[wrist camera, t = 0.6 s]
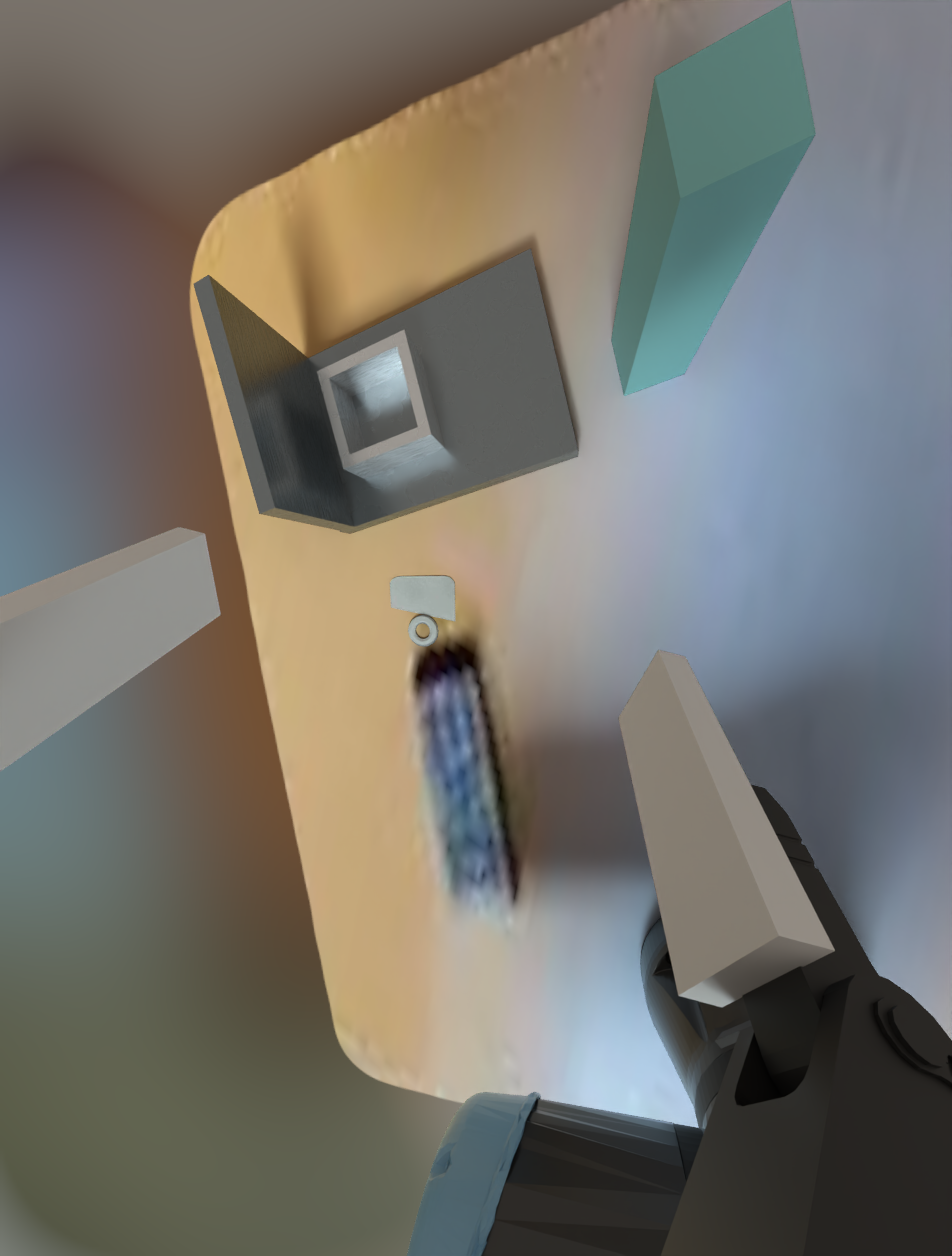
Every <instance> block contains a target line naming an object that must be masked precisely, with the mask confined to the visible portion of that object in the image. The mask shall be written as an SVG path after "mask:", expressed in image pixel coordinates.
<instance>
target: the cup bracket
mask: <svg viewBox="0 0 952 1256" xmlns="http://www.w3.org/2000/svg"><path fill="white" fill-rule="evenodd" d="M194 288H195V291H196V295H197V298H198V302H199V305H200V309H201V312H202V315H203V319H204V322H205V326H206V329H207V333H208V336H209V340H210V343H211V347H212V350H213V354H214V357H215V361H216V364H217V368H218V371H219V375H220V378H221V382H222V385H223V388H224V392H225V395H226V399H227V402H228V406H229V409H230V413H231V416H232V420H233V423H234V427H235V430H236V434H237V437H238V441H239V444H240V448H241V451H242V455H243V458H244V461H245V465H246V468H247V472H248V475H249V479H250V482H251V486H252V489H253V493H254V496H255V500H256V503H257V507H258V510H259V514H263V515H268V516H273V517H278V518H282V519H287V520H292V521H297V522H301V523H306V524H311V525H316V526H321V527H325V528H330V529H335V530H340V532H344V533H349V534H351V533H354V532H357V531H360V530H362V529H365V528H368V527H371V526H374V525H377V524H380V523H383V522H386V521H389V520H392V519H395V518H398V517H401V516H404V515H407V514H410V513H413V512H416V511H418V510H421V509H424V508H427V507H430V506H433V505H436V504H439V503H442V502H445V501H448V500H451V499H454V498H457V497H460V496H463V495H466V494H469V493H472V492H475V491H477V490H480V489H483V488H486V487H489V486H492V485H495V484H498V483H501V482H504V481H507V480H510V479H513V478H516V477H519V476H522V475H525V474H528V473H531V472H533V471H536V470H539V469H542V468H545V467H548V466H551V465H554V464H557V463H560V462H563V461H566V460H569V459H572V458H575V457H578V447H577V443H576V439H575V435H574V430H573V426H572V422H571V418H570V413H569V409H568V405H567V401H566V396H565V392H564V388H563V384H562V379H561V375H560V371H559V367H558V362H557V358H556V354H555V350H554V345H553V341H552V337H551V333H550V328H549V324H548V320H547V316H546V311H545V307H544V303H543V299H542V294H541V290H540V286H539V281H538V277H537V273H536V269H535V264H534V260H533V256H532V252H531V249H529V250H527V251H525V252H523V253H521V254H518V255H516V256H514V257H512V258H510V259H508V260H506V261H504V262H502V263H500V264H498V265H496V266H494V267H492V268H490V269H488V270H486V271H484V272H482V273H480V274H478V275H476V276H474V277H472V278H470V279H468V280H466V281H464V282H462V283H460V284H458V285H456V286H454V287H452V288H450V289H448V290H446V291H444V292H442V293H440V294H437V295H435V296H433V297H431V298H429V299H427V300H425V301H423V302H421V303H419V304H417V305H415V306H413V307H411V308H409V309H407V310H405V311H403V312H401V313H399V314H397V315H395V316H393V317H391V318H389V319H387V320H385V321H383V322H381V323H379V324H377V325H375V326H373V327H371V328H369V329H367V330H365V331H363V332H361V333H359V334H356V335H354V336H352V337H350V338H348V339H346V340H344V341H342V342H340V343H338V344H336V345H334V346H332V347H330V348H328V349H326V350H324V351H322V352H320V353H318V354H316V355H314V356H312V357H310V358H307V357H306V356H305V355H304V354H303V353H301V352H300V351H299V350H298V349H297V348H295V347H294V346H293V345H292V344H291V343H289V342H288V341H287V340H286V339H285V338H284V337H282V336H281V335H280V334H279V333H278V332H276V331H275V330H274V329H273V328H272V327H270V326H269V325H268V324H267V323H266V322H264V321H263V320H262V319H261V318H260V317H258V316H257V315H256V314H255V313H254V312H252V311H251V310H250V309H249V308H248V307H246V306H245V305H244V304H243V303H242V302H241V301H239V300H238V299H237V298H236V297H235V296H233V295H232V294H231V293H230V292H229V291H227V290H226V289H225V288H224V287H223V286H221V285H220V284H219V283H218V282H217V281H215V280H214V279H213V278H212V277H211V276H209V275H207V276H206V277H204V278H203V279H201V280H199V281H198V282H196V283H194Z"/></svg>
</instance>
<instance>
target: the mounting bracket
mask: <svg viewBox="0 0 952 1256" xmlns="http://www.w3.org/2000/svg"><path fill="white" fill-rule="evenodd" d="M390 594H391V608H396V609H400V610H405V611H410V612H414V613H419V614H424V615H420V616H417V617H415V618H414V619H412V621H411V623H410V624H409V630H408V632H409V636H410V638H411V640H412V641H413V642H414V643H416V644H417V645H419V646H430V645H431V644H433V643H434V642H435V640H436V639H437V637H438V626H437V624H436V622H435V621H434V620H433V619H432V618H431V617H429V616H433V617H438V618H442V619H447V620H451V621H455V582H454V581H453V580H452V579H451V578H450V577H447V576H399V577H396V578H394V579H392V581H391V582H390ZM426 615H428V616H426ZM421 623H424V624H426V625H428V627H429V628H430V635H429V636H428V637H427V638H426V639H422V638H420V637H418V636H417V634H416V627H417V625H419V624H421Z"/></svg>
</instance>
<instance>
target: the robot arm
mask: <svg viewBox="0 0 952 1256" xmlns="http://www.w3.org/2000/svg"><path fill="white" fill-rule="evenodd" d="M219 615H220V609H219V604H218V599H217V594H216V589H215V584H214V579H213V573H212V568H211V564H210V558H209V553H208V548H207V543H206V538H205V534H204V533H200V532H196V531H192V530H189V529H185V528H180V527H178V528H175V529H172V530H170V531H167V532H165V533H162V534H160V535H157V536H155V537H152V538H149V539H147V540H144V541H142V542H139V543H137V544H134V545H132V546H129V547H126V548H124V549H121V550H119V551H116V552H114V553H111V554H109V555H106V556H104V557H101V558H98V559H96V560H93V561H91V562H88V563H86V564H83V565H81V566H78V567H75V568H73V569H70V570H68V571H65V572H63V573H60V574H58V575H55V576H53V577H50V578H47V579H45V580H42V581H40V582H37V583H35V584H32V585H30V586H27V587H24V588H22V589H20V590H17V591H14V592H12V593H9V594H7V595H4V596H1V597H0V771H2V770H3V769H4V768H6V767H7V766H9V765H10V764H11V763H13V762H14V761H16V760H17V759H19V758H20V757H21V756H23V755H24V754H25V753H27V752H28V751H30V750H31V749H33V748H34V747H35V746H37V745H38V744H40V743H41V742H42V741H44V740H45V739H46V738H48V737H49V736H51V735H52V734H54V733H55V732H56V731H58V730H59V729H61V728H62V727H63V726H65V725H66V724H68V723H69V722H70V721H72V720H73V719H75V718H76V717H77V716H79V715H80V714H82V713H83V712H85V711H86V710H87V709H89V708H90V707H92V706H93V705H94V704H96V703H97V702H99V701H100V700H101V699H103V698H104V697H106V696H107V695H108V694H110V693H111V692H112V691H114V690H115V689H117V688H118V687H120V686H121V685H122V684H124V683H125V682H127V681H128V680H129V679H131V678H132V677H134V676H135V675H136V674H138V673H139V672H141V671H142V670H144V669H145V668H146V667H148V666H149V665H151V664H152V663H153V662H155V661H156V660H157V659H159V658H160V657H162V656H163V655H165V654H166V653H167V652H169V651H170V650H172V649H173V648H174V647H176V646H177V645H179V644H180V643H181V642H183V641H184V640H186V639H187V638H189V637H190V636H191V635H193V634H194V633H196V632H197V631H198V630H200V629H201V628H203V627H204V626H205V625H207V624H208V623H210V622H211V621H212V620H214V619H215V618H217V617H218V616H219ZM618 719H619V723H620V728H621V732H622V737H623V742H624V746H625V751H626V756H627V760H628V765H629V769H630V774H631V779H632V783H633V788H634V793H635V797H636V802H637V806H638V811H639V816H640V820H641V825H642V830H643V834H644V839H645V843H646V848H647V853H648V857H649V862H650V867H651V871H652V876H653V880H654V885H655V890H656V894H657V899H658V904H659V908H660V913H661V918H660V919H659V920H658V921H657V923H656V924H655V925H654V926H653V928H652V929H651V930H650V932H649V934H648V936H647V938H646V940H645V943H644V945H643V949H642V954H641V975H642V981H643V986H644V992H645V998H646V1002H647V1006H648V1010H649V1013H650V1016H651V1019H652V1021H653V1024H654V1026H655V1028H656V1030H657V1032H658V1034H659V1036H660V1038H661V1040H662V1042H663V1044H664V1046H665V1048H666V1050H667V1053H668V1055H669V1057H670V1059H671V1061H672V1063H673V1065H674V1067H675V1069H676V1071H677V1073H678V1075H679V1077H680V1079H681V1081H682V1083H683V1085H684V1087H685V1090H686V1092H687V1094H688V1096H689V1098H690V1100H691V1102H692V1104H693V1106H694V1110H695V1114H696V1118H697V1122H698V1126H699V1128H696V1127H690V1126H684V1125H679V1124H674V1123H672V1122H666V1121H660V1120H655V1119H649V1118H644V1117H638V1116H632V1115H627V1114H621V1113H615V1112H610V1111H604V1110H599V1109H593V1108H587V1107H582V1106H576V1105H570V1104H565V1103H559V1102H554V1101H548V1100H542V1099H540V1094H538V1093H536V1092H533V1093H531V1094H529V1095H528V1096H520V1095H510V1094H500V1093H490V1092H483V1093H478V1094H475V1095H473V1096H472V1097H470V1098H469V1099H468V1100H467V1101H465V1103H464V1104H463V1105H462V1106H461V1107H460V1108H459V1109H458V1111H457V1112H456V1114H455V1115H454V1117H453V1119H452V1120H451V1122H450V1124H449V1126H448V1128H447V1130H446V1132H445V1134H444V1137H443V1139H442V1141H441V1144H440V1146H439V1149H438V1151H437V1154H436V1157H435V1160H434V1163H433V1165H432V1169H431V1172H430V1175H429V1178H428V1181H427V1184H426V1187H425V1190H424V1193H423V1197H422V1201H421V1204H420V1207H419V1211H418V1215H417V1218H416V1222H415V1226H414V1229H413V1233H412V1237H411V1241H410V1245H409V1249H408V1253H407V1256H952V1040H951V1039H950V1038H949V1036H948V1035H947V1034H946V1033H945V1031H944V1030H943V1029H942V1027H941V1026H940V1025H939V1024H938V1022H937V1021H936V1020H935V1018H934V1017H933V1016H932V1015H931V1014H930V1013H929V1012H928V1011H926V1010H925V1009H924V1008H923V1007H922V1006H921V1005H920V1004H919V1003H918V1002H917V1001H916V1000H915V999H914V998H913V997H912V996H911V995H910V994H908V993H907V992H906V991H904V990H903V989H901V988H900V987H898V986H897V985H896V984H894V983H893V982H891V981H890V980H888V979H886V978H883V977H881V976H879V975H878V973H877V972H876V970H875V969H874V967H873V966H872V964H871V963H870V961H869V959H868V957H867V956H866V954H865V952H864V950H863V948H862V947H861V945H860V943H859V941H858V940H857V938H856V936H855V934H854V932H853V931H852V929H851V927H850V925H849V923H848V922H847V920H846V918H845V916H844V915H843V913H842V911H841V909H840V907H839V906H838V904H837V902H836V900H835V898H834V897H833V895H832V893H831V891H830V890H829V888H828V886H827V884H826V882H825V881H824V879H823V877H822V875H821V873H820V872H819V870H818V869H816V868H815V867H814V861H813V859H812V857H811V856H810V854H809V852H808V850H807V848H806V847H805V845H802V844H801V841H802V839H801V838H800V836H799V834H798V832H797V831H796V829H795V827H794V825H793V823H792V822H791V820H790V818H789V816H788V814H787V813H786V812H785V811H784V810H783V808H782V807H781V806H780V805H779V804H778V803H777V802H776V801H775V799H774V798H773V797H772V796H771V795H770V794H769V793H768V791H767V790H766V789H765V788H762V787H758V786H754V785H750V783H749V781H748V779H747V777H746V775H745V773H744V771H743V769H742V767H741V765H740V763H739V761H738V759H737V757H736V755H735V753H734V751H733V749H732V747H731V745H730V743H729V741H728V739H727V737H726V735H725V734H724V732H723V730H722V728H721V726H720V724H719V722H718V720H717V718H716V716H715V714H714V712H713V710H712V708H711V706H710V704H709V702H708V700H707V698H706V696H705V694H704V692H703V690H702V688H701V686H700V684H699V682H698V681H697V679H696V677H695V675H694V673H693V671H692V669H691V667H690V665H689V663H688V661H687V659H686V657H685V656H681V655H677V654H673V653H669V652H665V651H661V650H658V651H657V653H656V655H655V656H654V658H653V660H652V661H651V663H650V665H649V667H648V668H647V670H646V672H645V673H644V675H643V677H642V678H641V680H640V682H639V684H638V685H637V687H636V689H635V690H634V692H633V694H632V696H631V697H630V699H629V701H628V702H627V704H626V706H625V708H624V709H623V711H622V713H621V714H620V716H619V718H618Z"/></svg>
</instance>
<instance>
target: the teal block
mask: <svg viewBox="0 0 952 1256" xmlns="http://www.w3.org/2000/svg"><path fill="white" fill-rule="evenodd" d="M815 134H816V133H815V127H814V122H813V117H812V112H811V106H810V101H809V96H808V90H807V85H806V80H805V74H804V69H803V64H802V58H801V53H800V48H799V43H798V37H797V32H796V27H795V21H794V16H793V11H792V5H791V0H790V1H788V2H786V3H784V4H783V5H781V6H779V7H777V8H776V9H774V10H772V11H770V12H769V13H767V14H765V15H763V16H761V17H760V18H758V19H756V20H754V21H753V22H751V23H749V24H747V25H745V26H744V27H742V28H740V29H738V30H737V31H735V32H733V33H731V34H730V35H728V36H726V37H724V38H722V39H721V40H719V41H717V42H715V43H714V44H712V45H710V46H708V47H706V48H705V49H703V50H701V51H699V52H698V53H696V54H694V55H692V56H691V57H689V58H687V59H685V60H683V61H682V62H680V63H678V64H676V65H675V66H673V67H671V68H669V69H667V70H666V71H664V72H662V73H660V74H659V75H657V76H655V79H654V85H653V91H652V97H651V103H650V109H649V115H648V121H647V127H646V133H645V139H644V145H643V151H642V157H641V163H640V170H639V176H638V182H637V188H636V194H635V200H634V206H633V212H632V218H631V224H630V230H629V236H628V242H627V248H626V254H625V260H624V266H623V273H622V279H621V285H620V291H619V297H618V303H617V309H616V315H615V321H614V327H613V333H612V339H611V340H612V345H613V349H614V353H615V358H616V362H617V367H618V371H619V376H620V380H621V384H622V389H623V393H624V396H626V395H628V394H631V393H634V392H637V391H639V390H642V389H645V388H647V387H650V386H653V385H656V384H658V383H661V382H664V381H666V380H669V379H672V378H675V377H677V376H680V375H683V374H684V373H685V372H686V370H687V368H688V366H689V364H690V362H691V361H692V359H693V357H694V355H695V353H696V351H697V350H698V348H699V346H700V344H701V342H702V341H703V339H704V337H705V335H706V333H707V331H708V330H709V328H710V326H711V324H712V322H713V320H714V319H715V317H716V315H717V313H718V311H719V309H720V308H721V306H722V304H723V302H724V300H725V299H726V297H727V295H728V293H729V291H730V289H731V288H732V286H733V284H734V282H735V280H736V278H737V277H738V275H739V273H740V271H741V269H742V267H743V266H744V264H745V262H746V260H747V258H748V257H749V255H750V253H751V251H752V249H753V247H754V246H755V244H756V242H757V240H758V238H759V236H760V235H761V233H762V231H763V229H764V227H765V225H766V224H767V222H768V220H769V218H770V216H771V215H772V213H773V211H774V209H775V207H776V205H777V204H778V202H779V200H780V198H781V196H782V194H783V193H784V191H785V189H786V187H787V185H788V183H789V182H790V180H791V178H792V176H793V174H794V173H795V171H796V169H797V167H798V165H799V163H800V162H801V160H802V158H803V156H804V154H805V152H806V151H807V149H808V147H809V145H810V143H811V141H812V140H813V138H814V136H815Z"/></svg>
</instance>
